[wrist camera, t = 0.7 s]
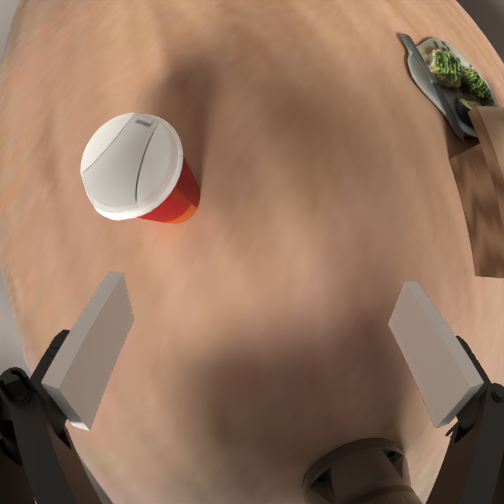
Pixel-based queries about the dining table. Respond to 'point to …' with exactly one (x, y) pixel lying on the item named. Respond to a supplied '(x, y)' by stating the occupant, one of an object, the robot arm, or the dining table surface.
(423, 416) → the dining table surface
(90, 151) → the paper cup
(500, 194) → the block
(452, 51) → the salad plate
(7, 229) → the dining table surface
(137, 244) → the dining table surface
